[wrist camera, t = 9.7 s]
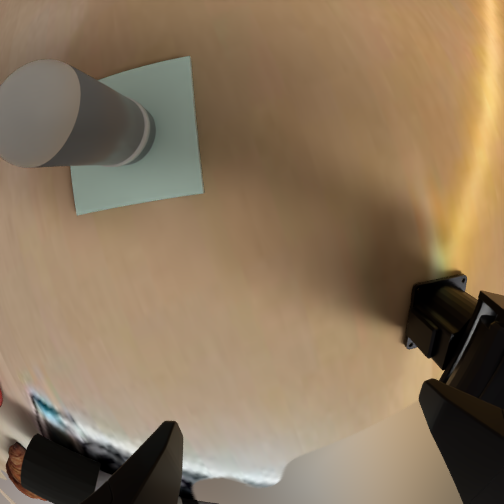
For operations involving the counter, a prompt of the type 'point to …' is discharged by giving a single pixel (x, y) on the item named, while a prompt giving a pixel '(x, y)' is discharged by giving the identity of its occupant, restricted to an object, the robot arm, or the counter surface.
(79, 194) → the coaster
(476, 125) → the counter surface
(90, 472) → the striped bottle
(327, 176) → the counter surface
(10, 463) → the pastry
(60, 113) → the cylinder
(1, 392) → the plant pot
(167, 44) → the counter surface
